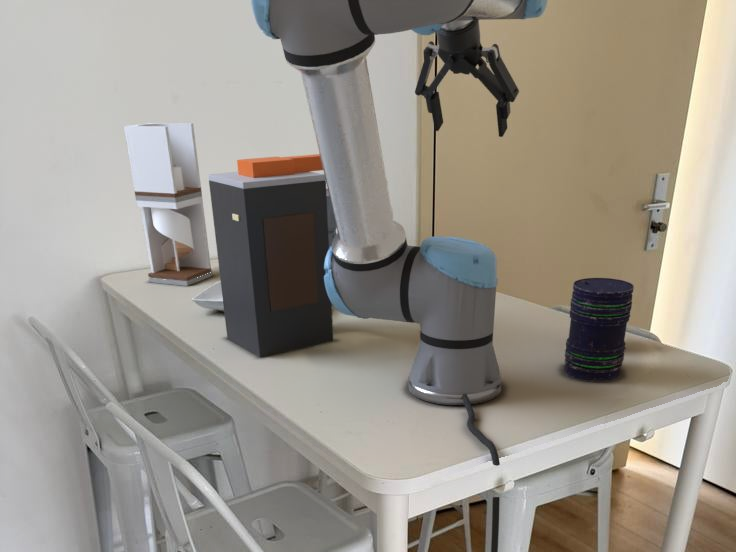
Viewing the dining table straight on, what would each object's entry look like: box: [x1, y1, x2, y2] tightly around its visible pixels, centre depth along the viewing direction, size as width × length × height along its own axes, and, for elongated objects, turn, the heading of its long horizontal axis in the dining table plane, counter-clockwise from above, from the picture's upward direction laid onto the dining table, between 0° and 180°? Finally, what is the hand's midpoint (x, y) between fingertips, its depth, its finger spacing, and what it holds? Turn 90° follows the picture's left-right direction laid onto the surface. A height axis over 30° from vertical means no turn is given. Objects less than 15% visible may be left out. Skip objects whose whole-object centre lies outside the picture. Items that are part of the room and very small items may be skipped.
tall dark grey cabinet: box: [207, 171, 334, 358], centre depth 144 cm, size 16×14×30 cm
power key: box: [236, 153, 323, 178], centre depth 139 cm, size 21×6×2 cm, turn 125°
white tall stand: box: [123, 122, 213, 287], centre depth 186 cm, size 11×11×35 cm
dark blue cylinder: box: [563, 277, 635, 383], centre depth 130 cm, size 10×10×15 cm
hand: (470, 129), depth 152 cm, fingers open, 13 cm apart
